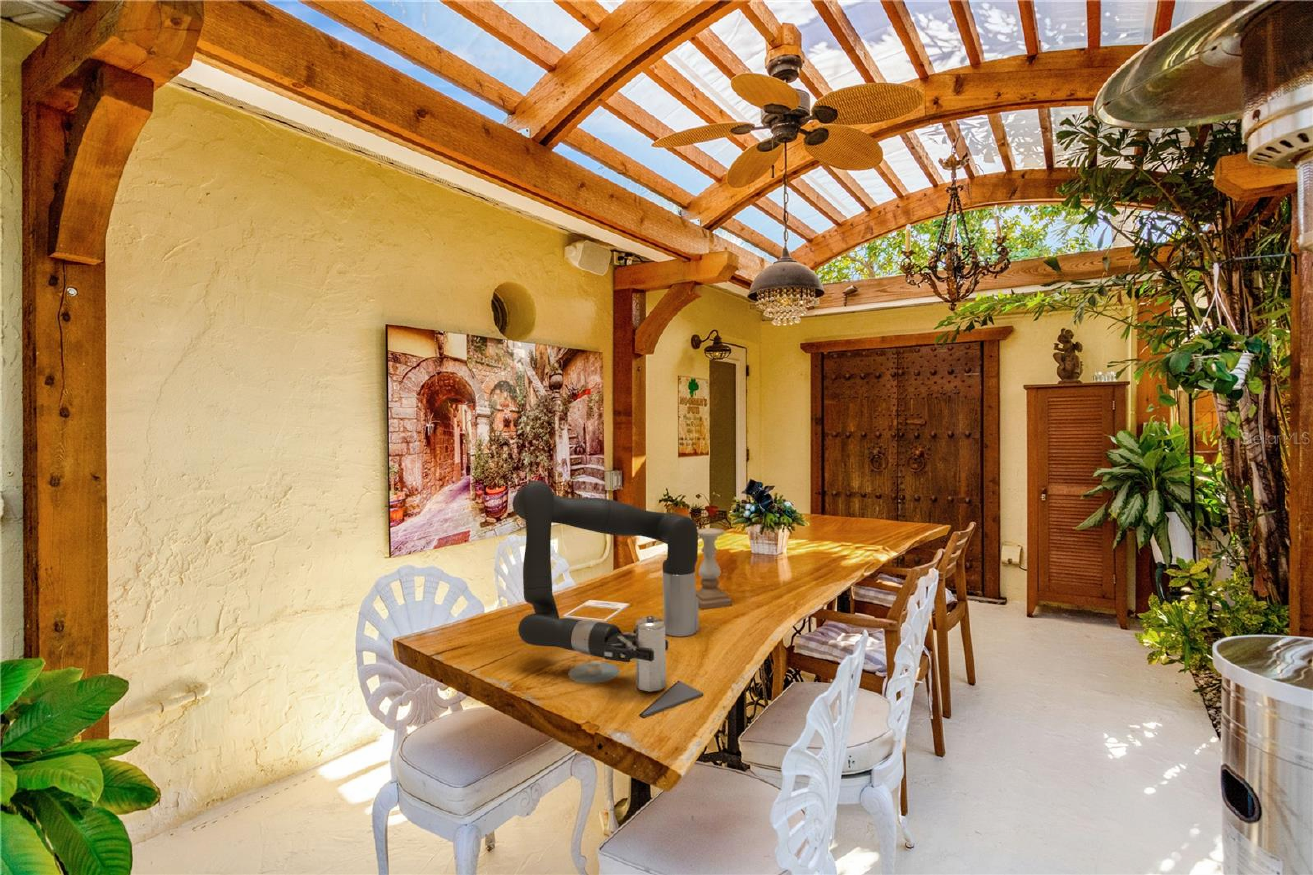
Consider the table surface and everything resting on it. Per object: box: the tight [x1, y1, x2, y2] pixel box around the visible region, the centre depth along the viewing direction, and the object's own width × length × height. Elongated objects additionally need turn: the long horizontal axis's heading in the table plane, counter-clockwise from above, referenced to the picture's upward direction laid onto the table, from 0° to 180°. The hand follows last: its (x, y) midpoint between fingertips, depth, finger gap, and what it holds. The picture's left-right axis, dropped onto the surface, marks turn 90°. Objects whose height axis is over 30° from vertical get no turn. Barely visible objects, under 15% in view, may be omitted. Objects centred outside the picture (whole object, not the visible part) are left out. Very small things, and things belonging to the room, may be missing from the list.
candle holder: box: [695, 527, 733, 610], centre depth 200 cm, size 11×11×24 cm
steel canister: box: [635, 615, 667, 692], centre depth 133 cm, size 6×6×15 cm
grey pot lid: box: [567, 660, 621, 684], centre depth 143 cm, size 12×12×3 cm
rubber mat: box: [638, 680, 704, 719], centre depth 134 cm, size 16×16×1 cm
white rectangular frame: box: [562, 599, 631, 623], centre depth 194 cm, size 15×1×18 cm
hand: (660, 650), depth 132 cm, fingers closed on steel canister, 6 cm apart
